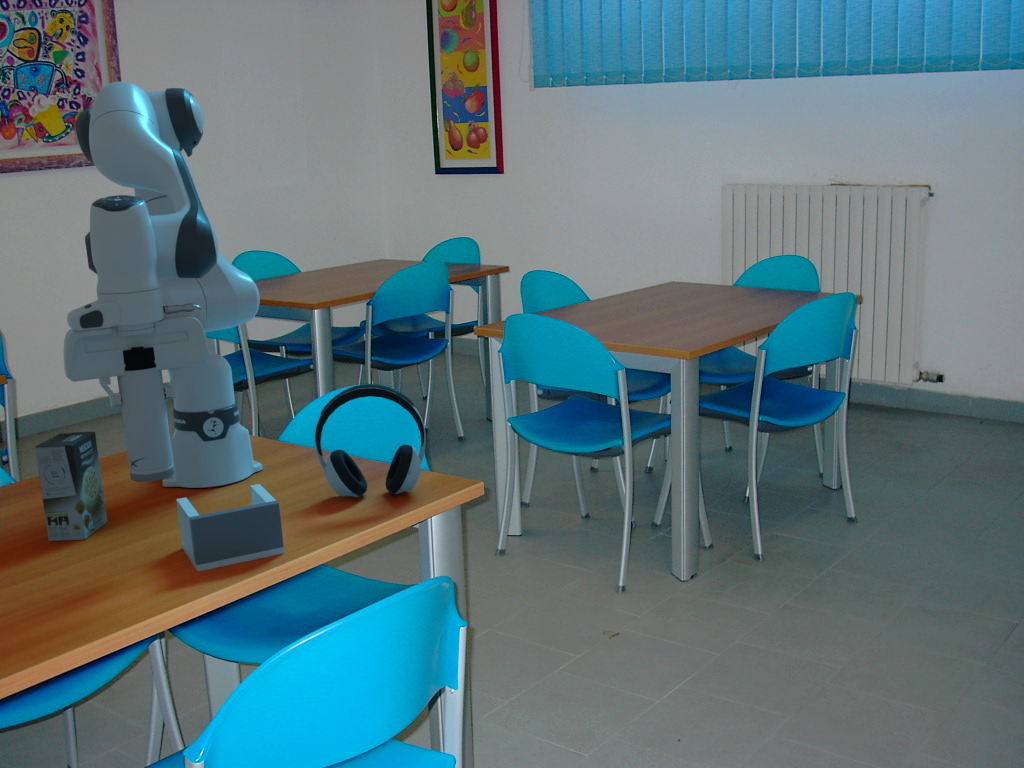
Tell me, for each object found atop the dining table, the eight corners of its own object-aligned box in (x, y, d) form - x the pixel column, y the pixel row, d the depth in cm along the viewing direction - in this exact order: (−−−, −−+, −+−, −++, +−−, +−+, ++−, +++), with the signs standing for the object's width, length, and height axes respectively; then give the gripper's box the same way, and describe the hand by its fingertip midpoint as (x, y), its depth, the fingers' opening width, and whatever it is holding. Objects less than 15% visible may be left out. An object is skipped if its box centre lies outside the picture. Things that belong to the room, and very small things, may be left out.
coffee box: (86, 540, 176) (72, 445, 173) (47, 542, 177) (33, 446, 173) (108, 521, 185) (95, 430, 182) (71, 523, 186) (58, 432, 182)
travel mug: (132, 485, 158) (114, 350, 155) (129, 475, 164) (112, 344, 161) (176, 478, 161) (160, 345, 157) (172, 468, 167) (156, 340, 163)
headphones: (429, 484, 196) (421, 375, 192) (430, 498, 188) (421, 385, 184) (322, 493, 194) (311, 384, 190) (318, 507, 186) (307, 394, 182)
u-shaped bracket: (182, 547, 170) (176, 499, 168) (264, 531, 176) (259, 483, 174) (197, 571, 160) (191, 520, 158) (284, 553, 165) (278, 503, 163)
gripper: (200, 299, 165) (210, 388, 168) (55, 315, 156) (69, 408, 159) (208, 304, 159) (218, 395, 162) (59, 320, 150) (72, 416, 154)
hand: (143, 402), depth 161 cm, fingers closed on travel mug, 6 cm apart
